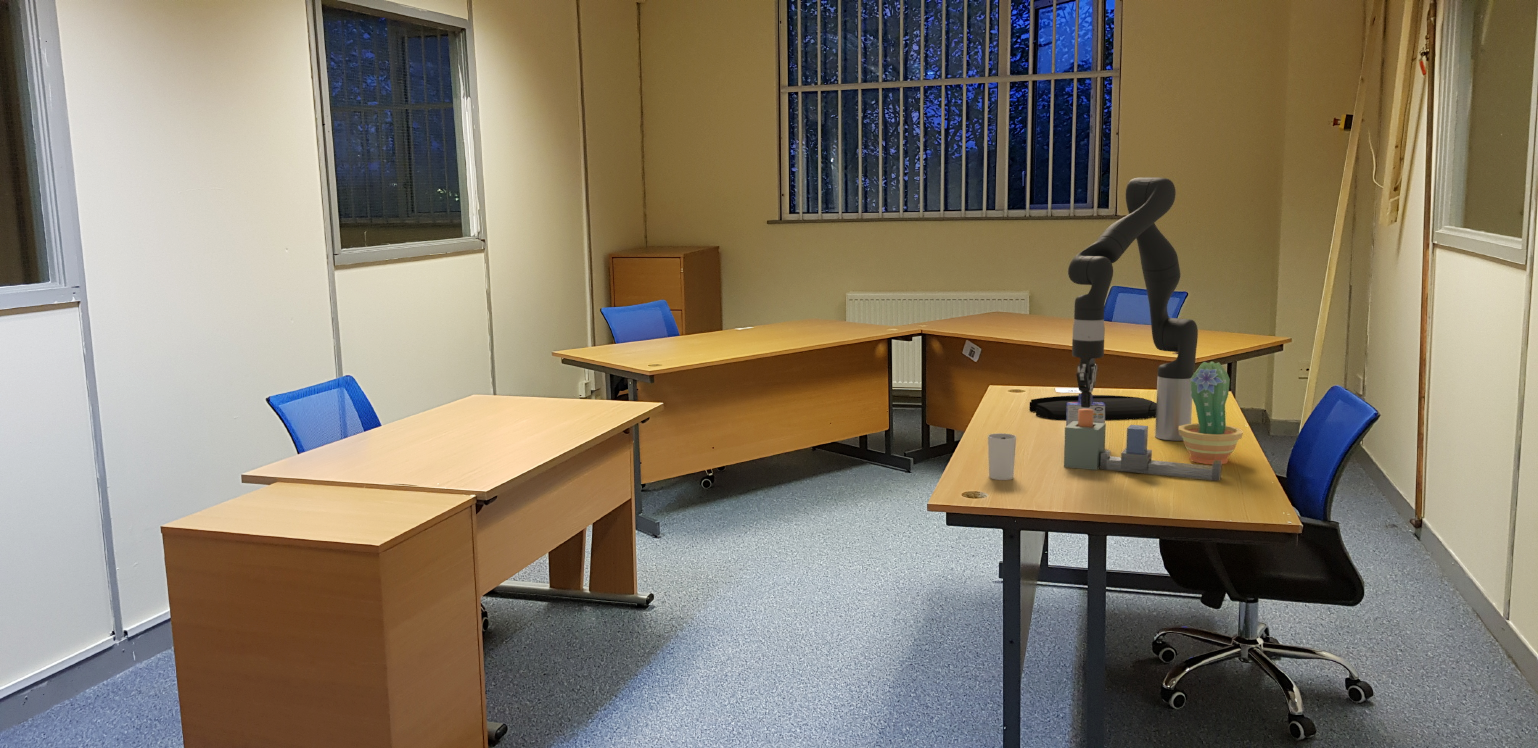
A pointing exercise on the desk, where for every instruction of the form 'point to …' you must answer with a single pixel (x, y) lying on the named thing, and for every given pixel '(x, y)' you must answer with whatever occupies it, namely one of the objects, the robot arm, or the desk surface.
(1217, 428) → the potted cactus
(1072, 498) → the desk surface
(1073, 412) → the ink cartridge box
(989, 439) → the cream cup
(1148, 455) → the carriage
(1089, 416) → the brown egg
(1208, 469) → the rail
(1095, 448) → the grey-green socket block
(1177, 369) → the robot arm
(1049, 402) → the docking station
